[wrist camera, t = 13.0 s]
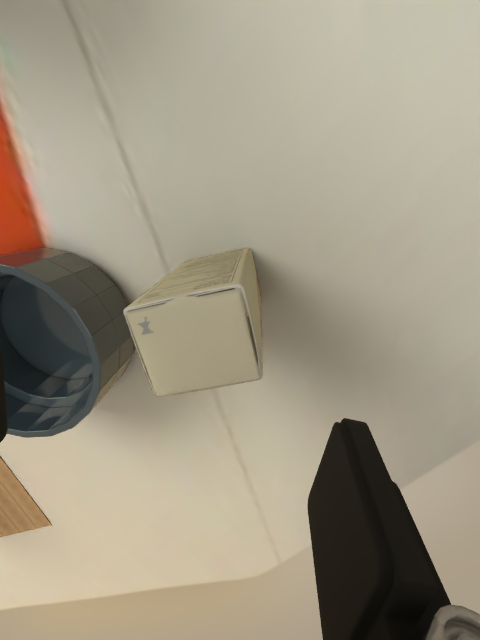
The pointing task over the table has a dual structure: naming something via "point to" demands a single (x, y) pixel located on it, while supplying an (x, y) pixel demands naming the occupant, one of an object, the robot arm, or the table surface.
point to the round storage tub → (58, 339)
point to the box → (200, 325)
